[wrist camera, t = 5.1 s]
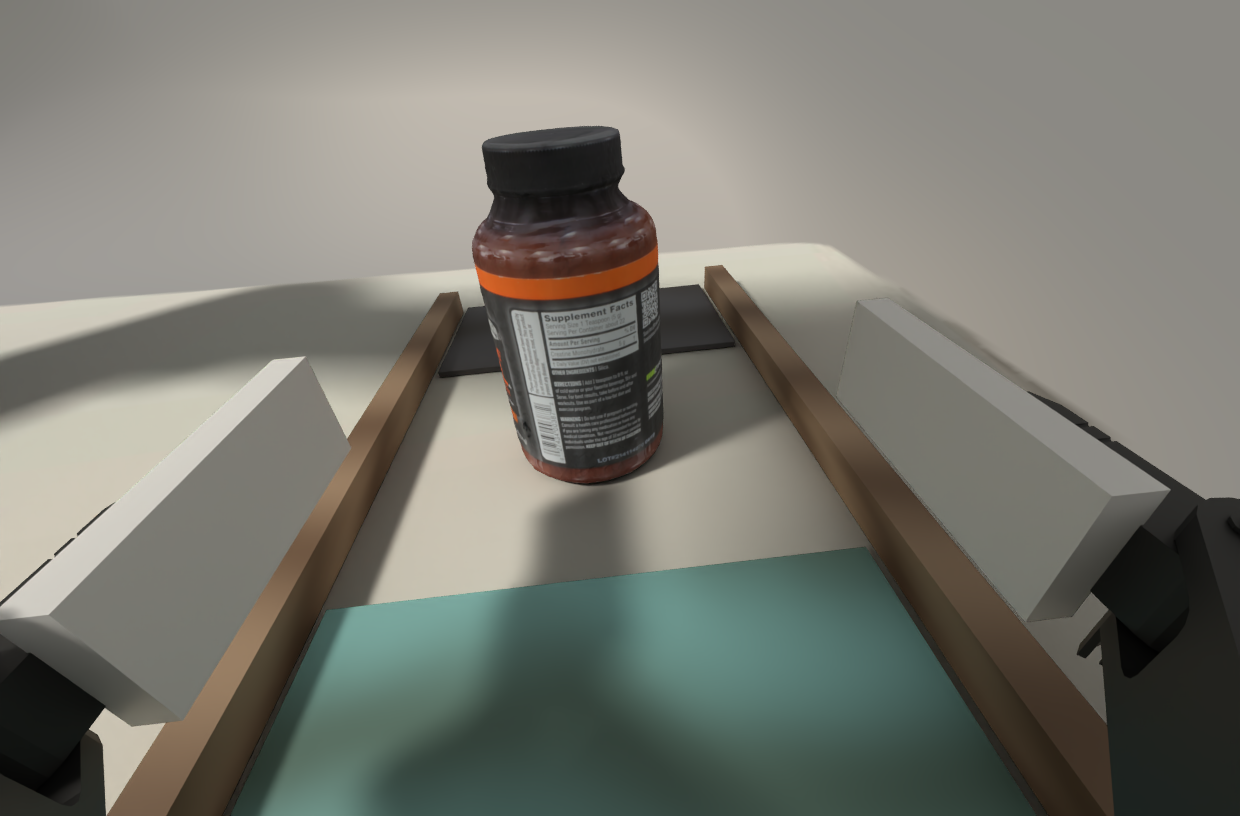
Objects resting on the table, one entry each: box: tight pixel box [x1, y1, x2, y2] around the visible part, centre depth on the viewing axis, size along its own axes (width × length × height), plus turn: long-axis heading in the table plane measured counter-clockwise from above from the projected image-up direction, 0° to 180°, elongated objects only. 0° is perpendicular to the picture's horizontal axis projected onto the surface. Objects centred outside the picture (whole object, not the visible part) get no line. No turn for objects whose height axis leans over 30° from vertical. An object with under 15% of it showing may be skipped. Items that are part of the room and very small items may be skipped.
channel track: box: [107, 265, 1114, 816], centre depth 20 cm, size 32×19×2 cm, turn 5°
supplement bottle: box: [472, 126, 663, 484], centre depth 17 cm, size 6×6×11 cm
